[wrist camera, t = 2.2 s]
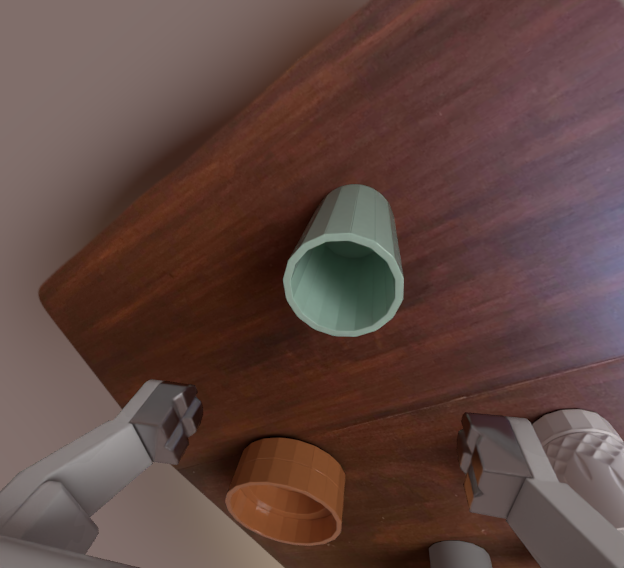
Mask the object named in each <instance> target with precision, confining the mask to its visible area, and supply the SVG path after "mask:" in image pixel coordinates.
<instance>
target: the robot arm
mask: <svg viewBox="0 0 624 568" xmlns="http://www.w3.org/2000/svg"><path fill="white" fill-rule="evenodd" d="M197 393H198V391H197V389H196V387H195V385H192V384H185V383H177V382H170V381H162V380H153V379H151V380H149V381H147V382H145V383H144V385H143V386H142V387H141V388H140V389H139V391H138V392H137V393H136V394H135V395H134V396H133V398H132V399H131V400H130V401H129V402H128V404H127V405H126V406H125V407H124V408H123V409H122V411H121V412H120V413H119V414H118V416H117V417H116V418H115V419H114V420H113V421H107V422H105V423H104V424H102V425H100V426H98V427H97V428H95V429H93V430H91V431H90V432H88V433H86V434H85V435H83V436H81V437H80V438H78V439H76V440H74V441H73V442H71V443H69V444H67V445H66V446H64V447H62V448H61V449H59V450H57V451H55V452H54V453H52V454H50V455H49V456H47V457H45V458H43V459H42V460H40V461H38V462H37V463H35V464H33V465H32V466H30V467H28V468H26V469H25V470H23V471H21V472H19V473H18V474H17V475H16V476H15V477H14V478H13V479H12V480H11V481H10V482H9V483H8V484H7V485H6V486H5V487H4V488H3V489H2V490H1V491H0V568H139V567H135V566H130V565H126V564H122V563H118V562H114V561H110V560H105V559H101V558H97V557H93V556H88V555H85V554H86V552H87V550H88V549H89V548H90V546H91V545H92V543H93V541H94V540H95V538H96V537H97V535H98V533H99V532H98V527H97V526H96V524H95V523H94V522H93V521H92V520H91V518H90V517H91V516H92V515H93V514H94V513H95V512H97V511H98V510H99V509H100V508H101V507H102V506H103V505H105V504H106V503H107V502H108V501H109V500H111V499H112V498H113V497H114V496H115V495H116V494H118V493H119V492H120V491H121V490H122V489H123V488H124V487H126V486H127V485H128V484H129V483H130V482H131V481H133V480H134V479H135V478H136V477H137V476H138V475H140V474H141V473H142V472H143V471H144V470H146V468H148V467H149V466H150V465H151V464H153V463H152V462H160V463H167V464H175V465H178V463H179V461H180V460H181V458H182V456H183V454H184V453H185V451H186V449H187V447H188V446H189V440H188V437H190V436H191V435H192V434H194V433H195V432H196V431H197V429H198V427H199V426H200V424H201V420H202V416H203V406H202V403H201V401H200V400H199V399H198V398H196V397H195V396H196V394H197ZM461 422H462V426H463V429H462V430H460V431H459V432H458V437H457V455H458V461H459V466H460V468H461V469H462V471H463V472H464V473H465V474H466V478H465V481H464V489H465V493H466V498H467V502H468V507H469V511H470V512H473V513H478V514H484V515H489V516H494V517H500V518H505V519H507V520H506V521H507V523H508V524H509V525H510V527H511V528H512V529H513V531H514V532H515V533H516V535H517V536H518V537H519V539H520V540H521V541H522V543H523V544H524V545H525V547H526V548H527V549H528V551H529V552H530V553H531V555H532V556H533V557H534V559H535V560H536V561H537V563H538V564H539V565H540V567H541V568H624V535H623V534H622V533H621V532H620V531H618V530H617V529H616V528H615V527H614V526H613V525H612V524H611V523H610V522H609V521H607V520H606V519H605V518H604V517H603V516H602V515H601V514H600V513H599V512H597V511H596V510H595V509H594V508H593V507H592V506H591V505H590V504H589V503H588V502H586V501H585V500H584V499H583V498H582V497H581V496H580V495H579V494H578V493H576V492H575V491H574V490H573V489H572V488H571V487H570V486H569V485H568V484H566V483H562V482H559V481H558V479H557V477H556V475H555V472H554V470H553V468H552V466H551V464H550V462H549V460H548V458H547V456H546V454H545V452H544V450H543V447H542V445H541V443H540V441H539V439H538V437H537V435H536V433H535V431H534V429H533V427H532V425H531V422H530V421H529V420H528V419H526V418H516V417H507V416H505V417H504V416H500V415H489V414H478V413H467V412H465V413H464V414H463V416H462V420H461Z"/></svg>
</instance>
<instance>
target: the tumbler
mask: <svg viewBox="0 0 624 568" xmlns="http://www.w3.org/2000/svg"><path fill="white" fill-rule="evenodd" d="M283 284H284V290H285V295H286V299H287V302H288V303H289V305H290V306H291V308H292V309H293V311H294V312H295V314H296V315H297V316H298V318H300V319H301V320H302V321H304V322H305V323H306V324H308V325H309V326H310V327H312V328H313V329H315V330H318V331H321V332H324V333H327V334H330V335H332V336H349V337H356V336H360V335H363V334H366V333H370V332H373V331H376V330H378V329H379V328H380V327H382V326H383V325H384V324H385V323H387V322H388V321H389V320H391V319H392V318H393V317H394V315H395V313H396V311H397V310H398V308H399V306H400V304H401V302H402V300H403V287H404V277H403V271H402V265H401V258H400V252H399V246H398V240H397V233H396V227H395V221H394V216H393V213H392V210H391V207H390V205H389V203H388V202H387V200H386V199H385V198H384V197H383V196H382V195H381V194H380V193H379V192H378V191H376V190H374V189H373V188H370V187H368V186H364V185H358V184H351V185H345V186H341V187H339V188H337V189H335V190H333V191H331V192H330V193H329V194H328V195H327V196H326V197H325V198H324V199H323V200H322V202H321V203H320V204H319V205H318V207H317V209H316V211H315V212H314V214H313V216H312V218H311V220H310V222H309V223H308V225H307V227H306V229H305V231H304V233H303V234H302V236H301V238H300V240H299V242H298V244H297V245H296V247H295V249H294V251H293V253H292V254H291V256H290V258H289V260H288V263H287V266H286V270H285V273H284V277H283Z"/></svg>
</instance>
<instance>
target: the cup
mask: <svg viewBox="0 0 624 568" xmlns="http://www.w3.org/2000/svg"><path fill="white" fill-rule="evenodd" d="M429 556H430V564H431V568H492V565H491V561H490V557H489V554H488V553H487V552H486V551H485V550H484V549H483V548H481V547H479V546H476V545H474V544H472V543H467V542H462V541H442V542H438V543H435V544H433V545H432V546H431V547H430V548H429Z"/></svg>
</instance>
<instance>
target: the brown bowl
mask: <svg viewBox="0 0 624 568" xmlns="http://www.w3.org/2000/svg"><path fill="white" fill-rule="evenodd" d="M344 493H345V473H344V471H343V469H342V467H341V465H340V464H339V463H338V462H337V461H336V460H335V459H334V458H333V457H332V456H331V455H329V454H328V453H326V452H325V451H323V450H321V449H319V448H318V447H316V446H314V445H311V444H308V443H305V442H302V441H299V440H295V439H288V438H281V437H280V438H279V437H278V438H264V439H261V440H258V441H255V442H252V443H251V444H250V445H249V446H247V447H246V448H245V449H244V450H243V453H242V455H241V458H240V461H239V463H238V466H237V469H236V471H235V474H234V477H233V479H232V482H231V485H230V487H229V490H228V493H227V496H226V500H225V502H226V505H227V508H228V511H229V512H230V513H231V514H232V516H233V517H234V518H235V519H236V520H237V521H238V522H240V523H241V524H242V525H244V526H245V527H246V528H248V529H250V530H252V531H254V532H255V533H257V534H259V535H261V536H264V537H267V538H269V539H272V540H275V541H279V542H283V543H288V544H293V545H308V546H312V545H319V544H325V543H327V542H330V541H332V540H334V539H336V538H337V536H338V535H339V534H340V533H341V531H342V518H343V505H344Z"/></svg>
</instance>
